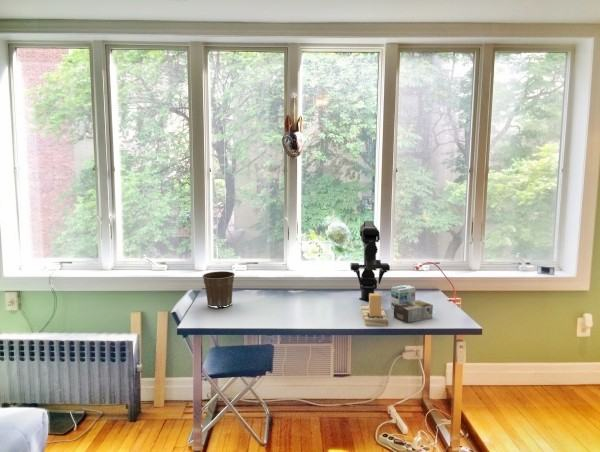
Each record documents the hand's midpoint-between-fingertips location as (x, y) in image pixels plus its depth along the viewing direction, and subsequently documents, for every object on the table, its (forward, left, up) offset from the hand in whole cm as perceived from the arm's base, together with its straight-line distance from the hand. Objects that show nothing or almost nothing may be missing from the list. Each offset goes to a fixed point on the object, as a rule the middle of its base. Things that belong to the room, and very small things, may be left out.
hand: (369, 284), depth 210 cm
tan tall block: (+13, -10, -13) cm, 21 cm away
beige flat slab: (+9, -7, -13) cm, 17 cm away
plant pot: (-54, -54, -13) cm, 78 cm away
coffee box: (+22, +15, -10) cm, 29 cm away
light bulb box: (+9, +15, -13) cm, 22 cm away
